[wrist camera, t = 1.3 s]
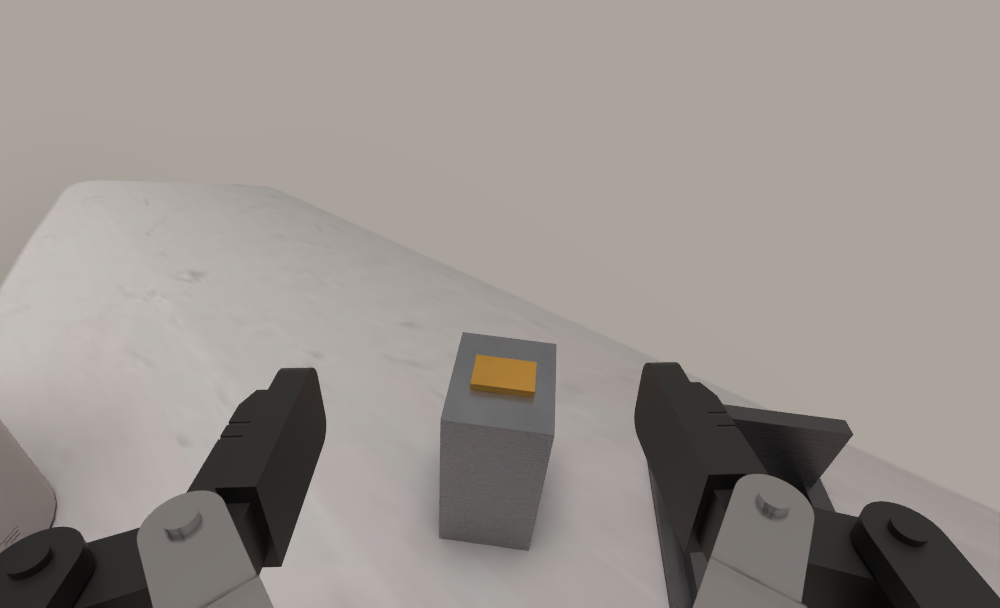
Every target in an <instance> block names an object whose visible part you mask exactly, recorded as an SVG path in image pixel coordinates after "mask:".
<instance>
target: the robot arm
mask: <svg viewBox="0 0 1000 608" xmlns="http://www.w3.org/2000/svg"><path fill="white" fill-rule="evenodd" d="M634 419H635V429H636V433H637V436H638V439H639V441H640V444H641V446H642V449H643V451H644V454H645V456H646V459H647V461H648V464H649V466H650V469H651V471H652V474H653V476H654V479H655V481H656V484H657V486H658V489H659V491H660V494H661V496H662V499H663V501H664V504H665V506H666V509H667V511H668V513H669V516H670V518H671V521H672V523H673V526H674V528H675V531H676V533H677V536H678V538H679V541H680V543H681V546H682V548H683V551H684V553H697V552H703V554H704V556H705V558H706V561H707V563H708V564H707V567H706V570H705V573H704V576H703V579H702V582H701V585H700V588H699V590H698V593H697V596H696V599H695V602H694V605H693V608H1000V598H999V597H998V596H997V594H996V593H995V592H994V591H993V590H992V588H991V587H990V586H989V585H988V584H987V583H986V581H985V580H984V579H983V578H982V577H981V576H980V574H979V573H978V572H977V571H976V570H975V569H974V567H973V566H972V565H971V564H970V563H969V562H968V560H967V559H966V558H965V557H964V556H963V555H962V553H961V552H960V551H959V550H958V549H957V548H956V546H955V545H954V544H953V543H952V542H951V541H950V539H949V538H948V537H947V536H946V535H945V534H944V532H943V531H942V530H941V529H940V528H939V527H937V526H936V525H935V524H934V523H933V522H931V521H930V520H929V519H927V518H926V517H924V516H923V515H921V514H919V513H918V512H916V511H914V510H912V509H910V508H907V507H905V506H902V505H899V504H896V503H891V502H883V501H879V502H872V503H870V504H868V505H866V506H865V507H864V508H863V510H862V512H861V514H860V516H859V517H854V516H850V515H846V514H841V513H837V512H833V511H828V510H824V509H820V508H816V507H813V506H811V504H810V503H809V501H808V500H807V499H806V498H805V496H804V495H803V494H802V493H801V492H800V491H798V490H797V489H796V488H795V487H793V486H792V485H790V484H789V483H787V482H785V481H783V480H781V479H779V478H776V477H773V476H769V474H768V473H767V471H766V470H765V468H764V467H763V465H762V464H761V462H760V461H759V459H758V457H757V456H756V454H755V453H754V451H753V450H752V448H751V447H750V445H749V444H748V442H747V441H746V439H745V438H744V436H743V435H742V433H741V432H740V430H739V429H738V428H736V424H735V422H734V421H733V419H732V418H731V416H730V415H728V414H727V410H726V409H725V407H724V406H723V404H722V403H721V401H720V400H719V398H718V397H717V395H715V394H714V393H713V392H712V391H710V390H709V389H708V388H706V387H705V386H704V385H703V384H701V383H700V382H690V381H689V379H688V378H687V376H686V374H685V373H684V371H683V369H682V368H681V366H680V365H679V364H678V363H677V362H662V363H646V364H645V365H644V367H643V370H642V375H641V381H640V386H639V391H638V396H637V402H636V407H635V415H634ZM325 435H326V416H325V410H324V405H323V400H322V395H321V390H320V385H319V380H318V376H317V372H316V370H315V369H314V368H281V369H280V370H279V371H278V372H277V374H276V376H275V378H274V380H273V382H272V383H271V385H270V387H269V389H268V390H256V391H255V392H254V393H253V394H251V395H250V396H249V397H248V398H247V399H245V400H244V401H243V402H242V403H241V404H239V406H238V407H237V409H236V411H235V412H234V414H233V416H232V417H231V419H230V421H229V425H227V426H226V427H225V429H224V431H223V432H222V434H221V436H220V437H221V438H220V440H218V441H217V442H216V444H215V446H214V447H213V449H212V451H211V452H210V454H209V456H208V457H207V459H206V461H205V462H204V464H203V466H202V468H201V469H200V471H199V473H198V474H197V476H196V478H195V479H194V481H193V483H192V484H191V486H190V488H189V489H188V491H187V493H184V494H181V495H178V496H176V497H174V498H172V499H170V500H168V501H166V502H165V503H163V504H161V505H160V506H159V507H157V508H156V509H155V510H154V511H153V512H152V513H151V514H150V515H149V516H148V517H147V518H146V519H145V520H144V522H143V523H142V525H141V527H140V528H137V529H134V530H131V531H127V532H124V533H120V534H117V535H113V536H109V537H106V538H102V539H99V540H95V541H92V542H88V543H86V541H85V540H84V538H83V536H82V535H81V533H80V532H79V531H77V530H76V529H73V528H69V527H55V528H50V525H51V523H52V520H53V518H54V513H55V506H56V500H55V495H54V490H53V488H52V487H51V485H50V484H49V483H48V481H47V480H46V478H45V477H44V476H43V475H42V473H41V472H40V471H39V469H38V468H37V467H36V466H35V464H34V463H33V462H32V460H31V459H30V458H29V457H28V455H27V454H26V453H25V451H24V450H23V449H22V448H21V446H20V445H19V444H18V442H17V440H16V439H15V438H14V437H13V435H12V434H11V433H10V432H9V430H8V429H7V428H6V426H5V425H4V424H3V423H2V421H1V420H0V608H274V607H273V605H272V603H271V601H270V599H269V596H268V594H267V592H266V590H265V587H264V585H263V583H262V581H261V579H260V577H259V574H260V572H261V569H262V567H281V566H282V563H283V560H284V557H285V554H286V552H287V549H288V546H289V543H290V540H291V537H292V534H293V531H294V528H295V525H296V522H297V520H298V517H299V514H300V511H301V508H302V505H303V502H304V499H305V496H306V493H307V490H308V488H309V485H310V482H311V479H312V476H313V473H314V470H315V467H316V464H317V461H318V458H319V456H320V453H321V450H322V447H323V444H324V440H325Z"/></svg>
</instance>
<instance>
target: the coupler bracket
mask: <svg viewBox="0 0 1000 608" xmlns="http://www.w3.org/2000/svg"><path fill="white" fill-rule="evenodd" d="M723 406H724V407H725V409H726V410H727V414H728V415H730V416H731V418H732V419H733V421H734V422H735V424H736V428H738V429H739V430H740V432H741V433H742V435H743V436H744V438H745V439H746V441H747V442H748V444H749V445H750V447H751V448H752V450H753V451H754V453H755V454H756V456H757V457H758V459H759V461H760V462H761V464H762V465H763V467H764V468H765V470H766V471H767V473H768V474H769V476H773V477H776V478H779V479H781V480H783V481H785V482H787V483H789V484H790V485H792V486H793V487H795V488H796V489H797V490H798V491H800V492H801V493H802V494H803V495H804V496H805V498H806V499H807V500H808V501H809V503H810V504H811V506H813V507H816V508H820V509H824V510H828V511H833V512H835V510H834V508H833V505H832V503H831V501H830V499H829V497H828V495H827V492H826V490H825V488H824V486H823V484H822V482H821V479H820V477H821V475H822V474H823V473H824V471H825V470H826V469H827V468H828V466H829V465H830V464H831V462H832V461H833V460H834V459H835V457H836V456H837V455H838V454H839V452H840V451H841V450H842V448H843V447H844V446H845V445H846V443H847V442H848V441H849V439H850V438H851V437H852V436H853V433H852V431H851V430H850V428H849V426H848V424H847V423H846V421H845V420H838V419H830V418H822V417H814V416H807V415H799V414H792V413H784V412H777V411H769V410H761V409H754V408H746V407H739V406H731V405H723ZM648 467H649V474H650V480H651V487H652V493H653V500H654V506H655V513H656V519H657V526H658V532H659V539H660V545H661V552H662V558H663V565H664V571H665V578H666V584H667V591H668V597H669V604H670V608H693V605H694V602H695V599H696V596H697V593H698V590H699V588H700V585H701V582H702V579H703V576H704V573H705V570H706V567H707V564H708V563H707V561H706V558H705V556H704V554H703V552H697V553H684V551H683V548H682V546H681V543H680V541H679V538H678V536H677V533H676V531H675V528H674V526H673V523H672V521H671V518H670V516H669V513H668V511H667V509H666V506H665V504H664V501H663V499H662V496H661V494H660V491H659V489H658V486H657V484H656V481H655V479H654V476H653V474H652V471H651V469H650V466H649V464H648Z"/></svg>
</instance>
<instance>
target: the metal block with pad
mask: <svg viewBox="0 0 1000 608" xmlns="http://www.w3.org/2000/svg"><path fill="white" fill-rule="evenodd" d="M555 384H556V344H551V343H543V342H535V341H528V340H520V339H512V338H504V337H496V336H488V335H481V334H473V333H465V332H463V333H462V337H461V341H460V345H459V349H458V353H457V357H456V361H455V365H454V369H453V373H452V377H451V381H450V385H449V389H448V393H447V397H446V400H445V404H444V408H443V412H442V416H441V430H440V515H439V538H443V539H450V540H457V541H464V542H471V543H478V544H485V545H492V546H499V547H506V548H513V549H520V550H527V551H529V546H530V542H531V537H532V533H533V529H534V524H535V520H536V515H537V511H538V506H539V502H540V497H541V493H542V488H543V484H544V479H545V475H546V470H547V466H548V461H549V457H550V452H551V448H552V443H553V439H554V430H555Z"/></svg>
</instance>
